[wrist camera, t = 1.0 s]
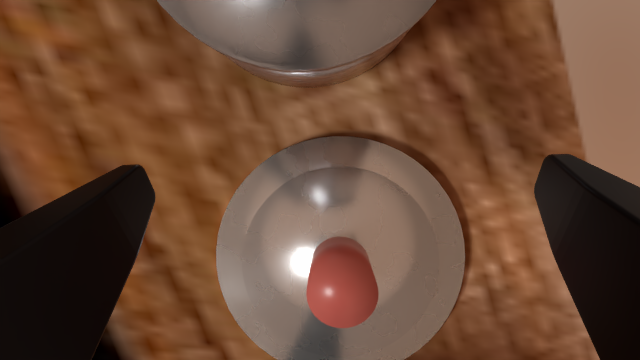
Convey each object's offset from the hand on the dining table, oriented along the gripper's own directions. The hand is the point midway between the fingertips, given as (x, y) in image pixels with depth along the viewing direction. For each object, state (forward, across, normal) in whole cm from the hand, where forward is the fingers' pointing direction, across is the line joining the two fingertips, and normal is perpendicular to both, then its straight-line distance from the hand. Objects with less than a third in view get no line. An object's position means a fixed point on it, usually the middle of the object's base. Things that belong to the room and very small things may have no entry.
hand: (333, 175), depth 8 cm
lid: (+7, +1, +11) cm, 13 cm away
